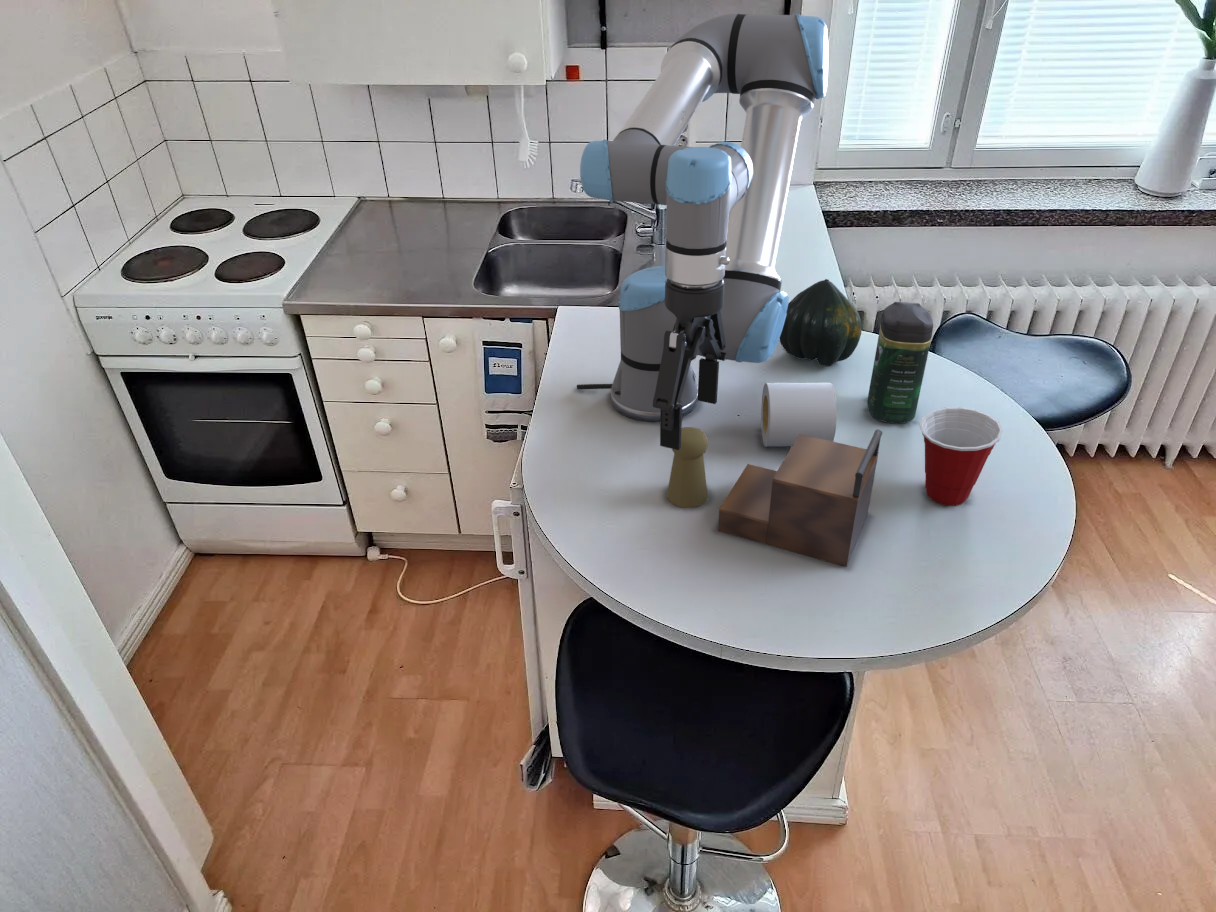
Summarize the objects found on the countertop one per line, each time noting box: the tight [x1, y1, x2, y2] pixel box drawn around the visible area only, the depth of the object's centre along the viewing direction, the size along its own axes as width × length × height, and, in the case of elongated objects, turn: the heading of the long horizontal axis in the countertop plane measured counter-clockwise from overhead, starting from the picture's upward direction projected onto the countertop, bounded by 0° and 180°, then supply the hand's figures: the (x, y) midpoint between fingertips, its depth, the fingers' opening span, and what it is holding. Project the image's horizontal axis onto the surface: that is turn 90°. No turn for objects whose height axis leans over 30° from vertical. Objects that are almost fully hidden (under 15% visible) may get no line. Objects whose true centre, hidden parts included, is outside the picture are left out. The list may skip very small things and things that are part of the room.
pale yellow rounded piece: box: [666, 426, 709, 509], centre depth 125 cm, size 6×6×11 cm
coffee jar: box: [866, 301, 934, 424], centre depth 142 cm, size 10×8×19 cm
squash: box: [779, 278, 863, 367], centre depth 162 cm, size 14×15×15 cm
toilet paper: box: [760, 382, 838, 447], centre depth 137 cm, size 10×10×10 cm
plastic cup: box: [918, 406, 1004, 507], centre depth 124 cm, size 11×11×12 cm
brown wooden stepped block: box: [717, 429, 883, 568], centre depth 118 cm, size 18×12×15 cm, turn 63°
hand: (689, 423), depth 121 cm, fingers open, 13 cm apart
